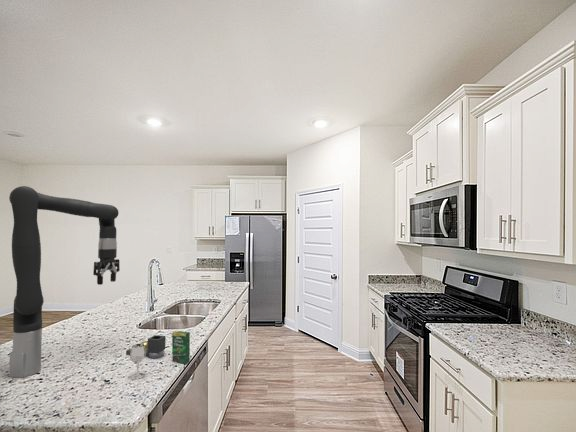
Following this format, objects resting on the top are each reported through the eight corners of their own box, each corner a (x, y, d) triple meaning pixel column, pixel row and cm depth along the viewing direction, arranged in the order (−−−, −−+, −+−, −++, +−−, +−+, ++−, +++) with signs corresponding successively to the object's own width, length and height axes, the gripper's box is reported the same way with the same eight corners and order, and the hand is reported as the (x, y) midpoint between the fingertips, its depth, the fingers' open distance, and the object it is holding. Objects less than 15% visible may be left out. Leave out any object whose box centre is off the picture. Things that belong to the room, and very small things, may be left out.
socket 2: (158, 353, 148) (158, 339, 148) (147, 352, 149) (147, 339, 149) (165, 348, 154) (165, 335, 154) (154, 348, 154) (154, 335, 155)
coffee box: (171, 361, 145) (171, 331, 146) (175, 359, 148) (176, 329, 148) (185, 364, 142) (185, 334, 142) (190, 362, 145) (190, 332, 145)
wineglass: (141, 371, 135) (141, 342, 135) (148, 375, 131) (148, 345, 132) (126, 376, 130) (127, 345, 131) (133, 381, 127) (134, 349, 127)
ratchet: (159, 359, 148) (159, 344, 148) (123, 356, 150) (123, 342, 151) (166, 354, 154) (166, 339, 154) (132, 351, 157) (132, 337, 157)
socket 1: (146, 352, 155) (146, 344, 155) (138, 352, 156) (138, 343, 156) (151, 349, 159) (151, 341, 159) (143, 349, 160) (143, 340, 160)
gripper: (103, 249, 146) (102, 285, 146) (124, 247, 160) (124, 280, 160) (88, 248, 147) (87, 285, 147) (111, 247, 161) (110, 280, 161)
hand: (106, 282), depth 153 cm, fingers open, 8 cm apart
